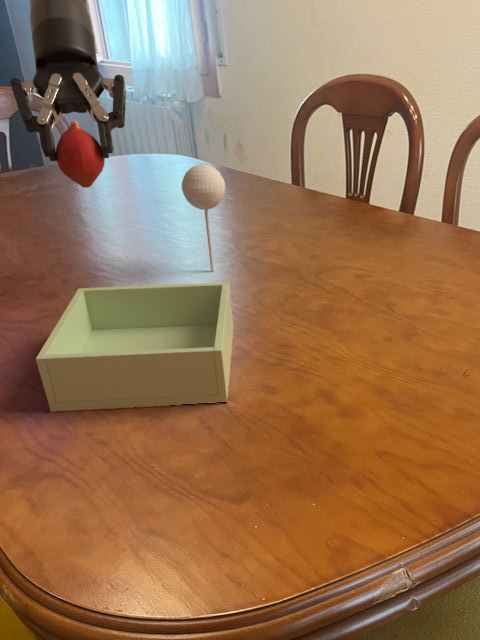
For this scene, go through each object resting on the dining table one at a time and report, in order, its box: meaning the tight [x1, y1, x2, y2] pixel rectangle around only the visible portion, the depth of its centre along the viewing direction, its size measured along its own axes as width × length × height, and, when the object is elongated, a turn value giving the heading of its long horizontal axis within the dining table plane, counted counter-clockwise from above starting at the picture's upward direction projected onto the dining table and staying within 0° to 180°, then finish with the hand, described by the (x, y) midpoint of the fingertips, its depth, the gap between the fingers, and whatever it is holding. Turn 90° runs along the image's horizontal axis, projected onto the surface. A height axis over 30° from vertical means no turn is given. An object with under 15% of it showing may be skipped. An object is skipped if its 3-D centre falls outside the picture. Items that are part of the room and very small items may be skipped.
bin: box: [35, 281, 234, 413], centre depth 72 cm, size 18×18×6 cm
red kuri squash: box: [55, 120, 106, 189], centre depth 83 cm, size 6×6×8 cm
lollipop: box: [181, 164, 226, 273], centre depth 94 cm, size 6×6×15 cm
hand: (79, 155), depth 82 cm, fingers closed on red kuri squash, 5 cm apart
